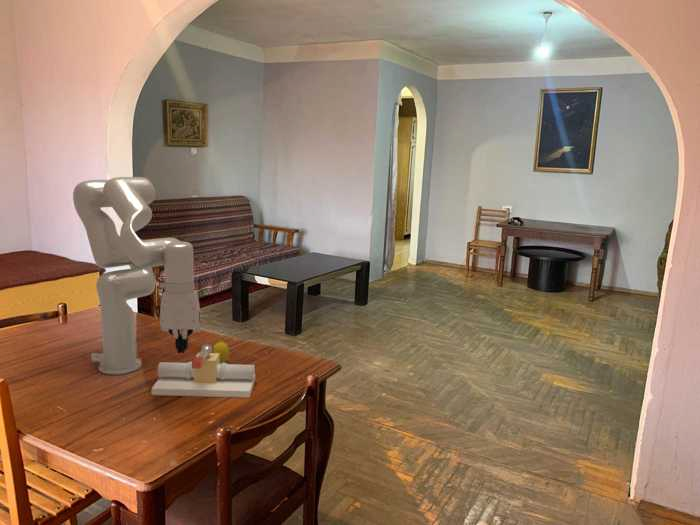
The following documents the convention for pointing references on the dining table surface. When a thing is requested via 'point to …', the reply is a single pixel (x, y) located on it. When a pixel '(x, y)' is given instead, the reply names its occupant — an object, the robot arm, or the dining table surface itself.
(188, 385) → the valve base
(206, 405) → the dining table surface
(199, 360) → the valve lever
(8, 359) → the dining table surface
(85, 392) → the dining table surface
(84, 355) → the dining table surface
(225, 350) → the lemon
